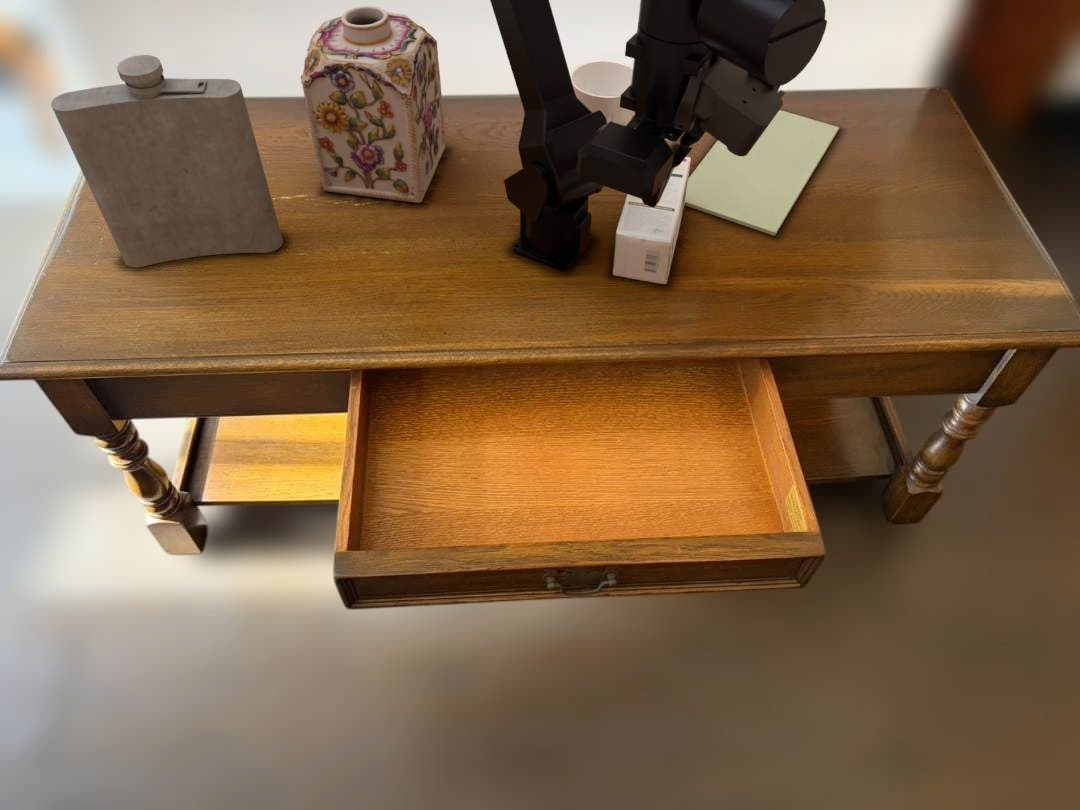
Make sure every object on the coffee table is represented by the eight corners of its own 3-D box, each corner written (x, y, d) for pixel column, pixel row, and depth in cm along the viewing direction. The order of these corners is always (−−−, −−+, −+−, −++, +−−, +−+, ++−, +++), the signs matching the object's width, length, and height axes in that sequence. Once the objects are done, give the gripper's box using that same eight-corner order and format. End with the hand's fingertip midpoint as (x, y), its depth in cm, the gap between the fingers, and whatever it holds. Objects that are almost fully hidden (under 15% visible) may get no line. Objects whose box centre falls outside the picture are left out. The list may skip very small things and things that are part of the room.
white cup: (614, 184, 95) (622, 104, 88) (554, 163, 98) (557, 84, 90) (643, 151, 100) (653, 72, 92) (585, 131, 102) (590, 53, 95)
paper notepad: (672, 201, 94) (673, 197, 93) (747, 103, 107) (748, 100, 107) (774, 236, 90) (775, 232, 90) (838, 130, 104) (839, 127, 103)
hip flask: (122, 269, 84) (34, 84, 69) (126, 244, 87) (43, 60, 72) (283, 251, 87) (232, 68, 71) (282, 227, 89) (234, 45, 74)
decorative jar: (422, 206, 92) (405, 49, 78) (321, 194, 93) (286, 36, 79) (448, 146, 100) (436, -7, 86) (354, 135, 101) (328, -18, 87)
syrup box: (672, 242, 80) (695, 155, 89) (612, 232, 81) (640, 147, 90) (666, 286, 84) (688, 199, 93) (609, 276, 85) (636, 191, 94)
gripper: (736, 117, 52) (695, 300, 64) (824, 2, 63) (775, 177, 75) (579, 70, 56) (568, 252, 68) (688, -32, 66) (662, 141, 78)
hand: (650, 203), depth 72 cm, fingers closed
